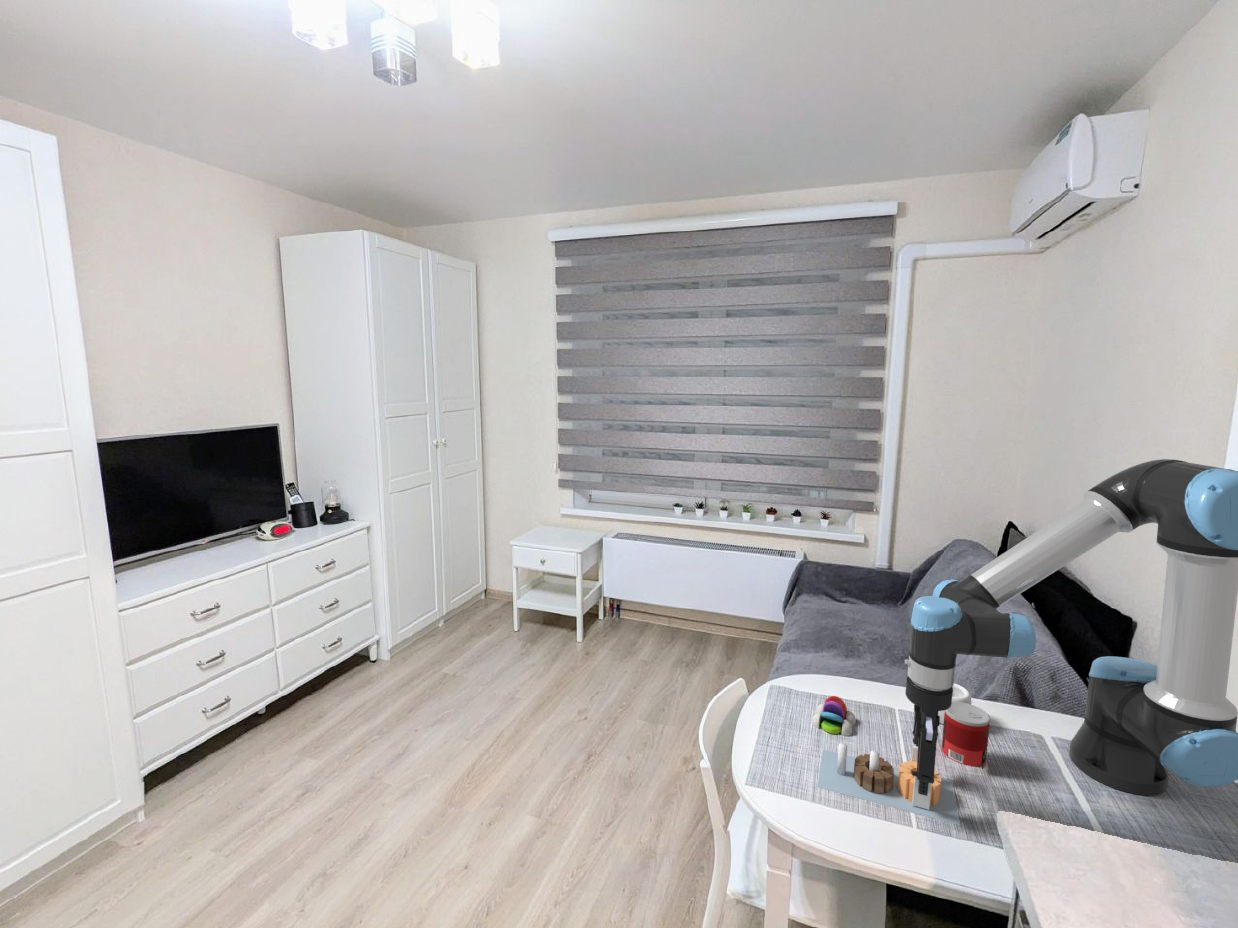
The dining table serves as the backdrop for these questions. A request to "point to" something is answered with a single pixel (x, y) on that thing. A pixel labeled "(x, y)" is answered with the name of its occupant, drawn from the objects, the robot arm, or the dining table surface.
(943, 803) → the gear board
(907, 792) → the gear
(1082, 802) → the dining table surface
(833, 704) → the multicolored petal toy
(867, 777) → the gear
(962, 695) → the mug
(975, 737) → the canned food
